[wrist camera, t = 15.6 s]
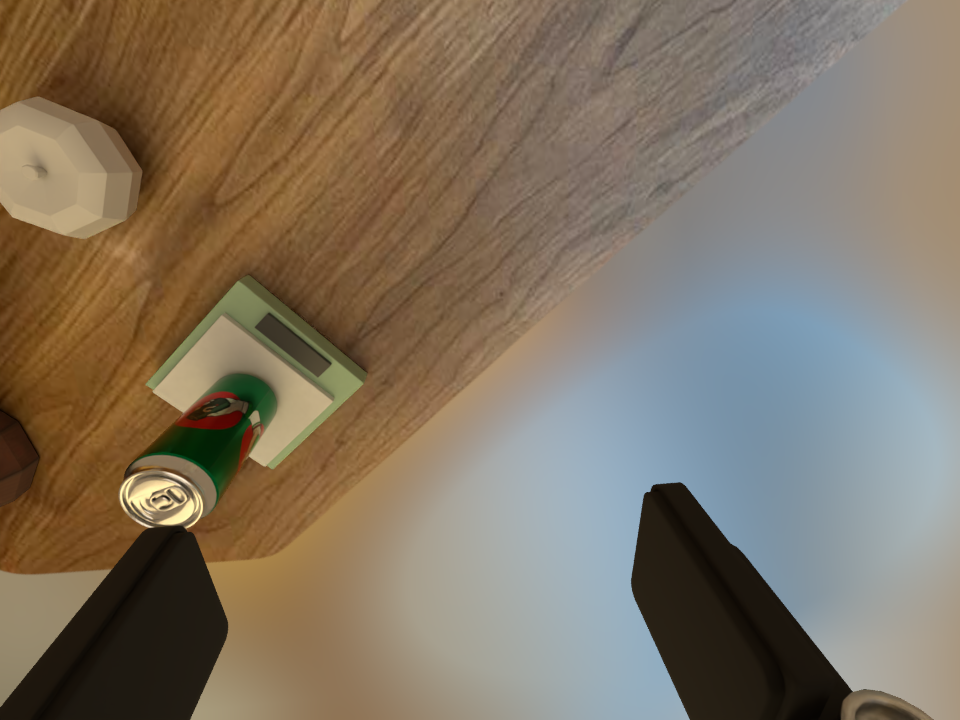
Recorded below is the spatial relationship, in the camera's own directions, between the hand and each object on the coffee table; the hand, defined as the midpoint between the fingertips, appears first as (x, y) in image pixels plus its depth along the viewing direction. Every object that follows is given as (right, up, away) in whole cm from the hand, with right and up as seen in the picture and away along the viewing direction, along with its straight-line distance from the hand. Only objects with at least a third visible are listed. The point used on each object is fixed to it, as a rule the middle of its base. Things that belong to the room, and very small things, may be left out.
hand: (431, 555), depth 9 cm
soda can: (-18, +1, +26) cm, 32 cm away
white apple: (-25, +17, +21) cm, 37 cm away
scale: (-17, +3, +28) cm, 33 cm away
